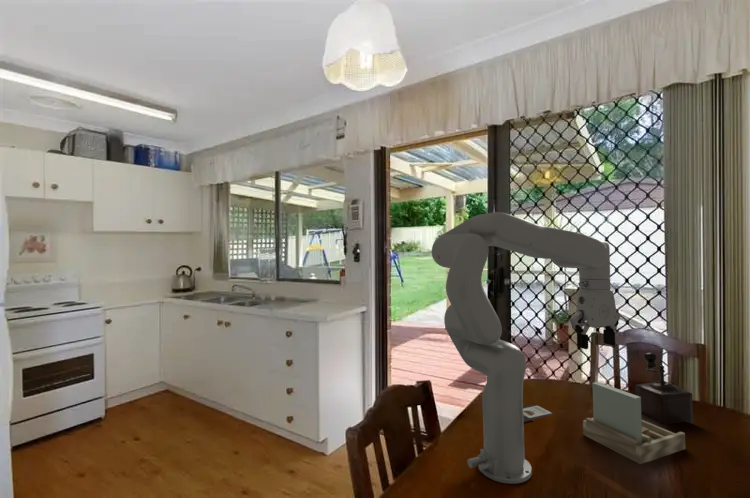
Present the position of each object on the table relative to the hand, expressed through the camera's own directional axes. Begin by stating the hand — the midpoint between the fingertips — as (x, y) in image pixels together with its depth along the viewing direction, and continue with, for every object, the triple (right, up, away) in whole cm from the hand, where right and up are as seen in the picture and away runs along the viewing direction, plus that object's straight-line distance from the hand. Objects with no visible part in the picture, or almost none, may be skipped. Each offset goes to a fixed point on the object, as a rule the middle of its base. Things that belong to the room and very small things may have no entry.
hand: (596, 346), depth 106 cm
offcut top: (+7, -23, -3) cm, 24 cm away
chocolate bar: (-14, -27, +17) cm, 35 cm away
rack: (+8, -26, -3) cm, 27 cm away
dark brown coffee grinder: (+28, -26, +14) cm, 40 cm away
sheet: (+3, -25, -5) cm, 26 cm away
